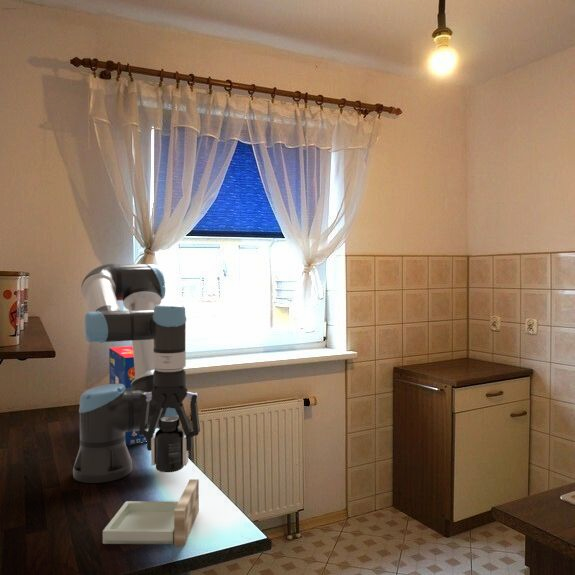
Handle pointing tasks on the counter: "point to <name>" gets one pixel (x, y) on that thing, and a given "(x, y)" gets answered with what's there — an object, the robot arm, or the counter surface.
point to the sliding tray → (142, 523)
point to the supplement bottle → (169, 445)
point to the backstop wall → (186, 512)
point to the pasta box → (124, 380)
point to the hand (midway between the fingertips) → (169, 463)
